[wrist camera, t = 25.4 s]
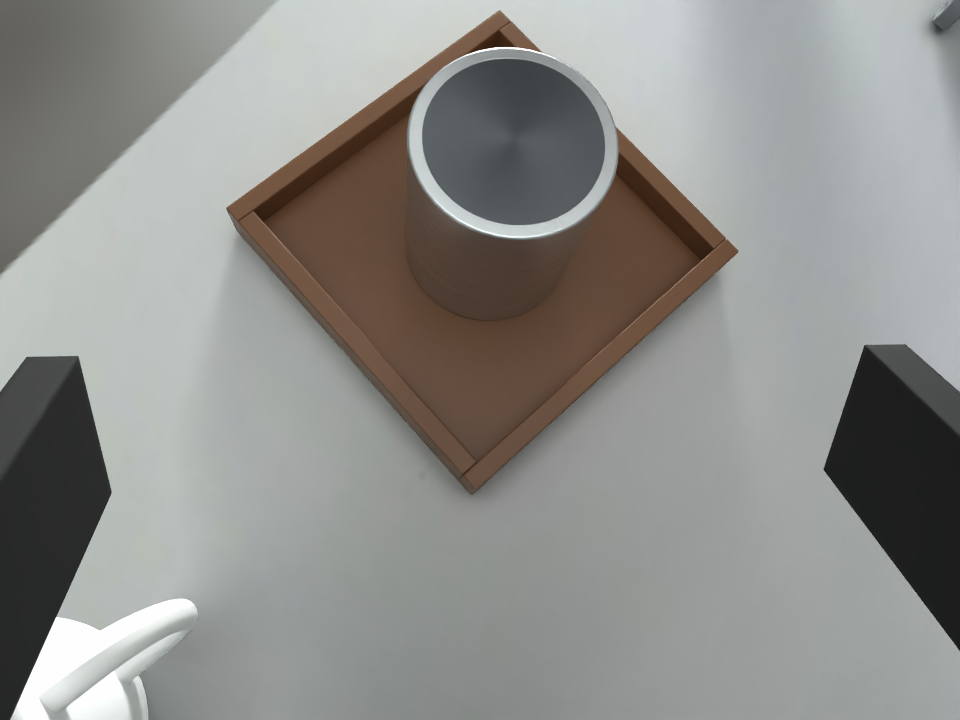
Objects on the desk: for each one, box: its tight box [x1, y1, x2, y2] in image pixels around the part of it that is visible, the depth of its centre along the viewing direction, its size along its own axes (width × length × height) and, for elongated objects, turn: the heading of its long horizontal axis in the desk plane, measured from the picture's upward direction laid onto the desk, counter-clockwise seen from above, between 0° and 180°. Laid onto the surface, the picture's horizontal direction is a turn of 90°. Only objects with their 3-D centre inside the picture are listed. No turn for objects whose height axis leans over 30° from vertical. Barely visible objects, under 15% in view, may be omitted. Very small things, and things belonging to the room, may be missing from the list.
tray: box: [226, 10, 738, 495], centre depth 35 cm, size 16×16×2 cm
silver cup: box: [405, 47, 619, 321], centre depth 31 cm, size 7×7×9 cm
